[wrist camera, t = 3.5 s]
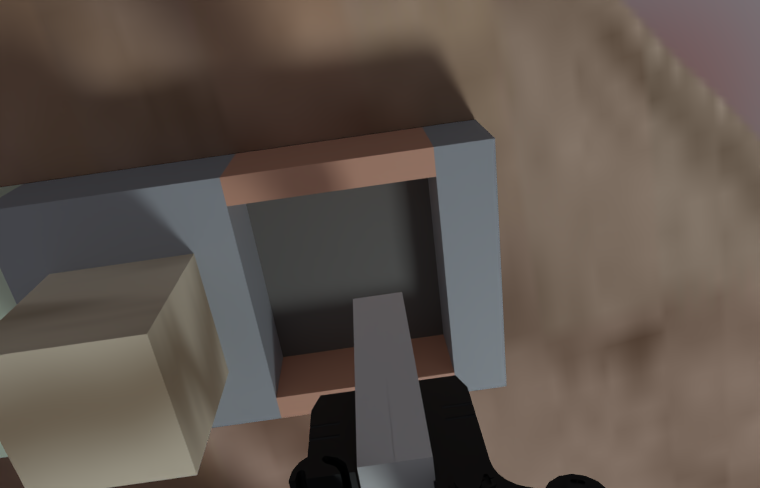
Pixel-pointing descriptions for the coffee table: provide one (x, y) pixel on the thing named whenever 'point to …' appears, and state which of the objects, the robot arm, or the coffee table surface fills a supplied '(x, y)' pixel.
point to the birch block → (110, 376)
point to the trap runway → (295, 253)
